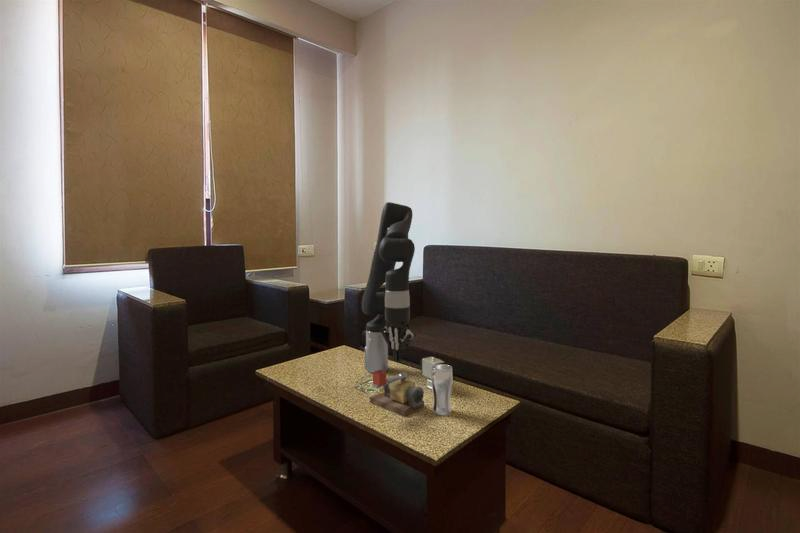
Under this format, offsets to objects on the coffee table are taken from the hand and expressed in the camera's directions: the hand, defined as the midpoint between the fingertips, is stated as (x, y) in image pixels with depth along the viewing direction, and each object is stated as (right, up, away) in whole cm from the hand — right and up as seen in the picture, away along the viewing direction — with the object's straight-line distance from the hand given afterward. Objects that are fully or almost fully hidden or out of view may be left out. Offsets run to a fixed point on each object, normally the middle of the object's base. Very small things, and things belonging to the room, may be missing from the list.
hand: (397, 360), depth 130 cm
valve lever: (-2, -9, +10) cm, 14 cm away
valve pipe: (0, -19, +16) cm, 24 cm away
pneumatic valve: (+14, -17, +31) cm, 38 cm away
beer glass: (+14, -19, +10) cm, 26 cm away
